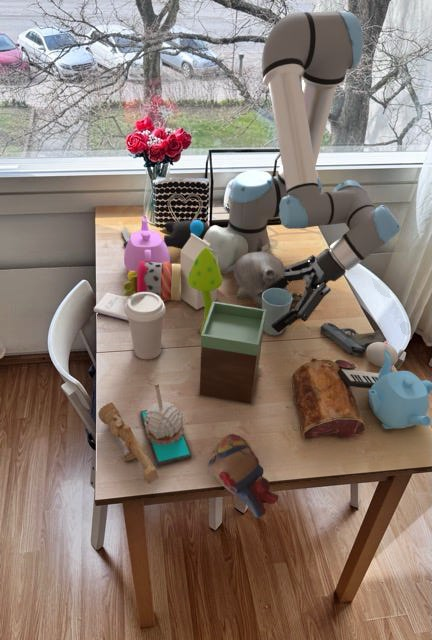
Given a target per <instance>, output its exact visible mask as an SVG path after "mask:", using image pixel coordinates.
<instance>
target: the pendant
mask: <svg viewBox="0 0 432 640" xmlns="http://www.w3.org/2000/svg"><path fill="white" fill-rule="evenodd" d="M291 295H292V298H293V299H292V303H291V306H290V309H289V311H290V310H293V309H295V308H296V306H297V304H298V303H299V301H300V299H301V297H302V295H303V294H302V293H297V292H293V293H291ZM299 311H300V310H299Z"/></svg>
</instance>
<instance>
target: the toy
mask: <svg viewBox="0 0 432 640" xmlns="http://www.w3.org/2000/svg"><path fill="white" fill-rule="evenodd" d="M211 227H212V226H210V225H209V223H206V222H203V221H201V220H200V219H194V220H182V221H166V223H165V232H166V233H168V234H165V235H164V236H163V240H164V242H165V244H166V246H167V248H175V249H179V250H182V248H183V247H184V246H185V244H186V243H187V241H188V240H189V239H190V237H191V233H192V234H194V235H195V236H197V237H198V238H200V239H202V240H203V238H204V236H205V234H206V232H207V231H208V230H209V229H210V228H211Z"/></svg>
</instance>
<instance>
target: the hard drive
mask: <svg viewBox="0 0 432 640" xmlns="http://www.w3.org/2000/svg"><path fill="white" fill-rule="evenodd" d="M129 298H130V297H129V296H125V295H120V294H115V293H112V292H111V293H110V292H106V293H105V294H104V296H103V297H101V299H100V301H98V302H97V303H96V305H95V306H94V307H93V312H94V313H95V314H99V315H104V316H108V317H112V318H116V319H120V320H124V321H127V322H129V321H128V317H127V315H126V314H125V312H124V308H125V305H126V303H127V301H128V299H129Z"/></svg>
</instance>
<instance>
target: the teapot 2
mask: <svg viewBox="0 0 432 640" xmlns="http://www.w3.org/2000/svg"><path fill="white" fill-rule="evenodd" d="M384 356H385V360H384V364H383V366H382V367H380V370H379V372H378V373H379V375H378V380H377V381H376V382H375V383H374V384H373V386H372V387H371V389H370V388H369V390H368V394H367V398H368V403H369V407H370V409H372V412H373V414H374V415H375V417H376V418H377V419H378V420H379V421H380V422H381V426H382V428H384V429H386V430H391V429H405V428H410V427H413V426H420V427H421V426H422V427H423V426H424V427H429V426H430V425H431V424H432V418H431V417H430V416H428V415H427V414H428V410H429V394H430V393H431V392H432V382H431V381H430V380H426V379H424V380H421V379H420V378H419V377H418V376H417V375H416V374H415V373H414V372H411V371H410V370H397V371H392V366H391V356H390V354H389V352H388V351H387V350H384Z"/></svg>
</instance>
